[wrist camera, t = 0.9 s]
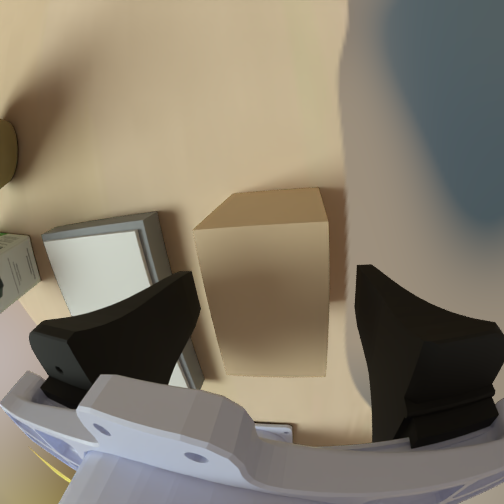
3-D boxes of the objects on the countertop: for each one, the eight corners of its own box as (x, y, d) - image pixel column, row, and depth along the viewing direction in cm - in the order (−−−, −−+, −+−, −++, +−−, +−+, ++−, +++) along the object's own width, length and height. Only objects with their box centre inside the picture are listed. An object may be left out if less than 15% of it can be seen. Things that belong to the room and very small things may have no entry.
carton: (322, 302, 17) (325, 376, 11) (249, 304, 18) (226, 375, 12) (318, 187, 14) (328, 221, 9) (233, 193, 15) (192, 230, 9)
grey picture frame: (204, 379, 21) (197, 397, 19) (111, 363, 23) (101, 377, 22) (157, 211, 16) (140, 221, 14) (55, 227, 18) (38, 236, 16)
